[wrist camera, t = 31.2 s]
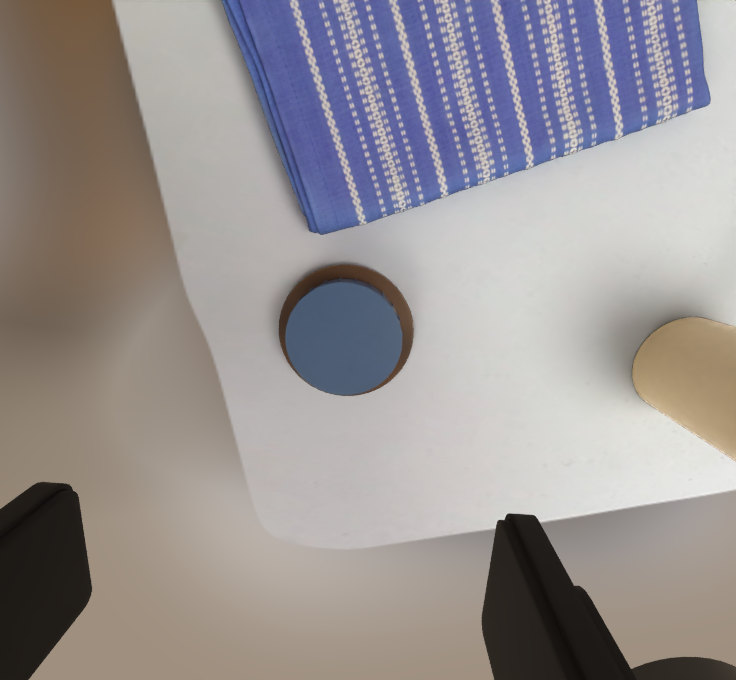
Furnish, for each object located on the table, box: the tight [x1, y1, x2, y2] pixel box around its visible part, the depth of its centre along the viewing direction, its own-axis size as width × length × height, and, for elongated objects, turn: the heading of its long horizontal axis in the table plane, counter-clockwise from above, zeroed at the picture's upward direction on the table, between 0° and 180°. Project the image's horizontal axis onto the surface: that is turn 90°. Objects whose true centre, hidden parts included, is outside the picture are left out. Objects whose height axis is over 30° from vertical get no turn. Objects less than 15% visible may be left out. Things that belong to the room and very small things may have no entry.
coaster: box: [279, 264, 414, 396], centre depth 28 cm, size 9×9×1 cm
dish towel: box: [222, 0, 711, 235], centre depth 22 cm, size 17×24×3 cm
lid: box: [285, 277, 403, 395], centre depth 26 cm, size 7×7×2 cm
